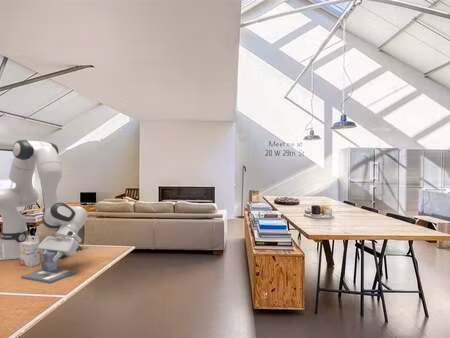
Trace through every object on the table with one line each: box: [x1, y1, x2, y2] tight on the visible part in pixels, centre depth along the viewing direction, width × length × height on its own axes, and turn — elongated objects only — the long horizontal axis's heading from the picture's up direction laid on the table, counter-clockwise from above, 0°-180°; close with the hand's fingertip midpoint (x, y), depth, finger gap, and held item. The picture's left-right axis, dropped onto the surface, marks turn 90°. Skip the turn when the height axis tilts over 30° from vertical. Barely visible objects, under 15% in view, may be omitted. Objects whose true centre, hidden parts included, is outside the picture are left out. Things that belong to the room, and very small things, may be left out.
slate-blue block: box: [40, 251, 58, 272], centre depth 146 cm, size 4×4×8 cm
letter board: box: [20, 268, 77, 284], centre depth 146 cm, size 18×14×1 cm
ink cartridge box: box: [19, 234, 41, 268], centre depth 162 cm, size 9×5×15 cm, turn 71°
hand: (48, 260), depth 145 cm, fingers closed on slate-blue block, 4 cm apart
